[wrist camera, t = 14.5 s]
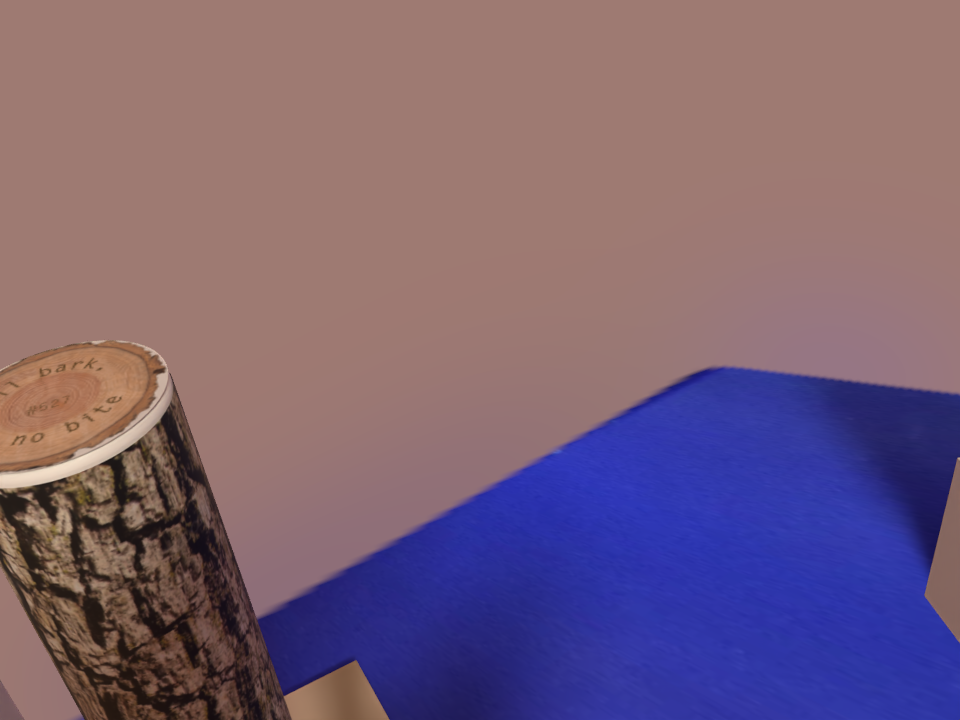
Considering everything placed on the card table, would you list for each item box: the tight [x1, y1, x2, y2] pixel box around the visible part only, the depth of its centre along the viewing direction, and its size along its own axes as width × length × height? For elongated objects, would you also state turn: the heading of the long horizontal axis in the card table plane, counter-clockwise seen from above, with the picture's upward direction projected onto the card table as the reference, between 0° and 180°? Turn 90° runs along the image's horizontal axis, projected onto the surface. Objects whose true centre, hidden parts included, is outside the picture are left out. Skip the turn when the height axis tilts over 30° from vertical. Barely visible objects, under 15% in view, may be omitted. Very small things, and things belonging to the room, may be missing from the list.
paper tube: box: [0, 340, 292, 720], centre depth 35 cm, size 7×7×25 cm
